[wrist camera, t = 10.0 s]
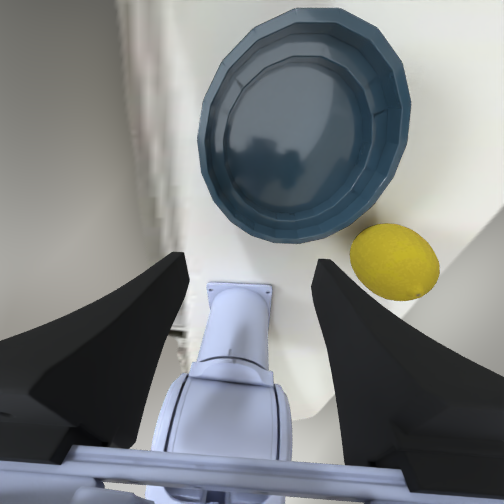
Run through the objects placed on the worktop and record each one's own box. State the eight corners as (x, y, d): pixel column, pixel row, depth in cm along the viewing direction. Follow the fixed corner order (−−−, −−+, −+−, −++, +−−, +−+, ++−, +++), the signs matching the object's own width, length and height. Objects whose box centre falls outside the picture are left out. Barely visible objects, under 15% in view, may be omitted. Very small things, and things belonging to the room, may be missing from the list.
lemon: (384, 197, 18) (455, 246, 11) (407, 238, 20) (478, 299, 13) (328, 233, 20) (359, 291, 13) (354, 266, 22) (392, 330, 16)
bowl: (350, 226, 19) (366, 246, 16) (217, 222, 20) (209, 240, 17) (413, 33, 12) (462, 7, 9) (199, 32, 12) (180, 7, 10)
